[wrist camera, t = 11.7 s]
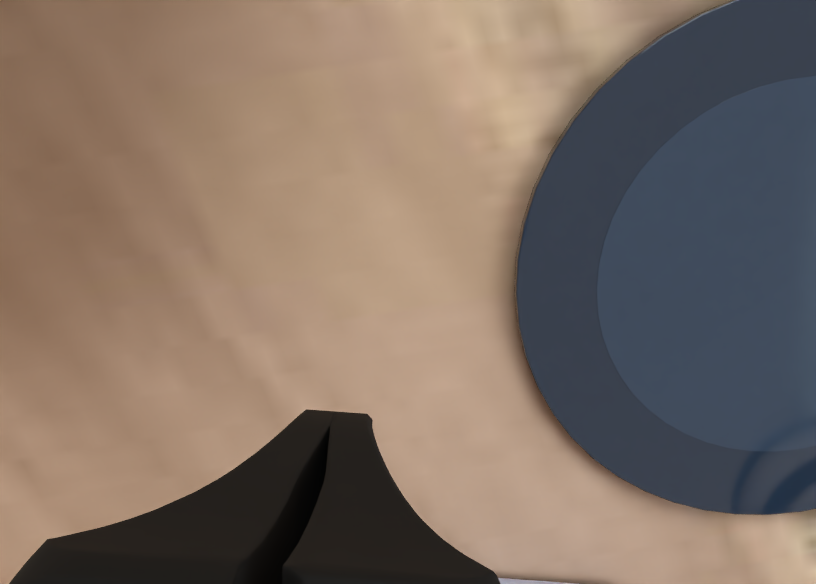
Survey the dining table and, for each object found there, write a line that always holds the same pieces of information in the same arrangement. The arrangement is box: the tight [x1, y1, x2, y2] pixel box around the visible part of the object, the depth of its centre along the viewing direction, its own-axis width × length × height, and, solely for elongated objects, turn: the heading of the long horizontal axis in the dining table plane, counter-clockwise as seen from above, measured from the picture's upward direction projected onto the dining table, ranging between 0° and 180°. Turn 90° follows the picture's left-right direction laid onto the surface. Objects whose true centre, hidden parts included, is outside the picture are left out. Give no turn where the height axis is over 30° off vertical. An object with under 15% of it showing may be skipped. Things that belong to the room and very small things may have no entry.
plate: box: [514, 0, 816, 515], centre depth 22 cm, size 17×17×1 cm
